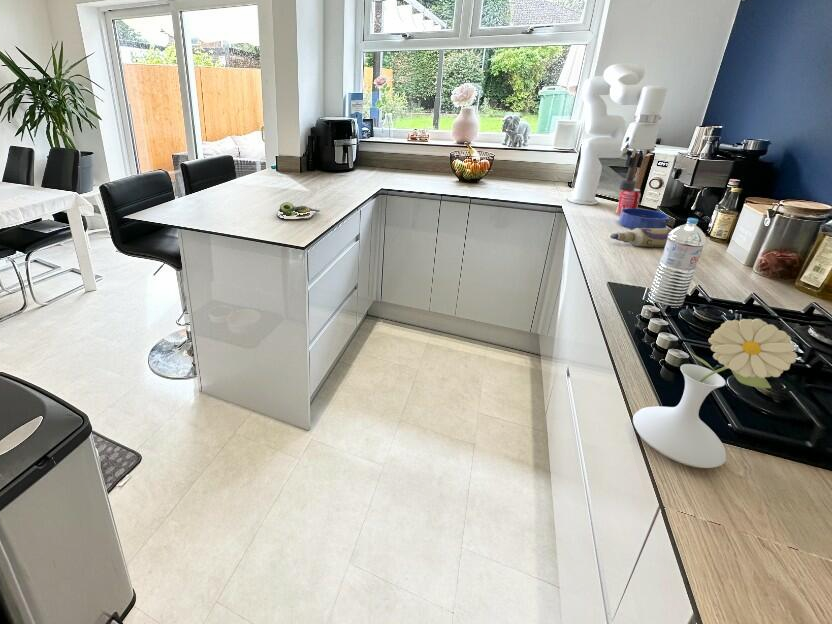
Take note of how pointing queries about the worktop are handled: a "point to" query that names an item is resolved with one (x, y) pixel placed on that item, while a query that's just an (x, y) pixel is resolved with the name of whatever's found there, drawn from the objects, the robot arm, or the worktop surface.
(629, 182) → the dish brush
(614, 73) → the robot arm
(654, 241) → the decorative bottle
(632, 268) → the worktop surface
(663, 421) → the flower in vase
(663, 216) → the blue bowl
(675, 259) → the water bottle
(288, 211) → the salad plate
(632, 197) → the soda can
